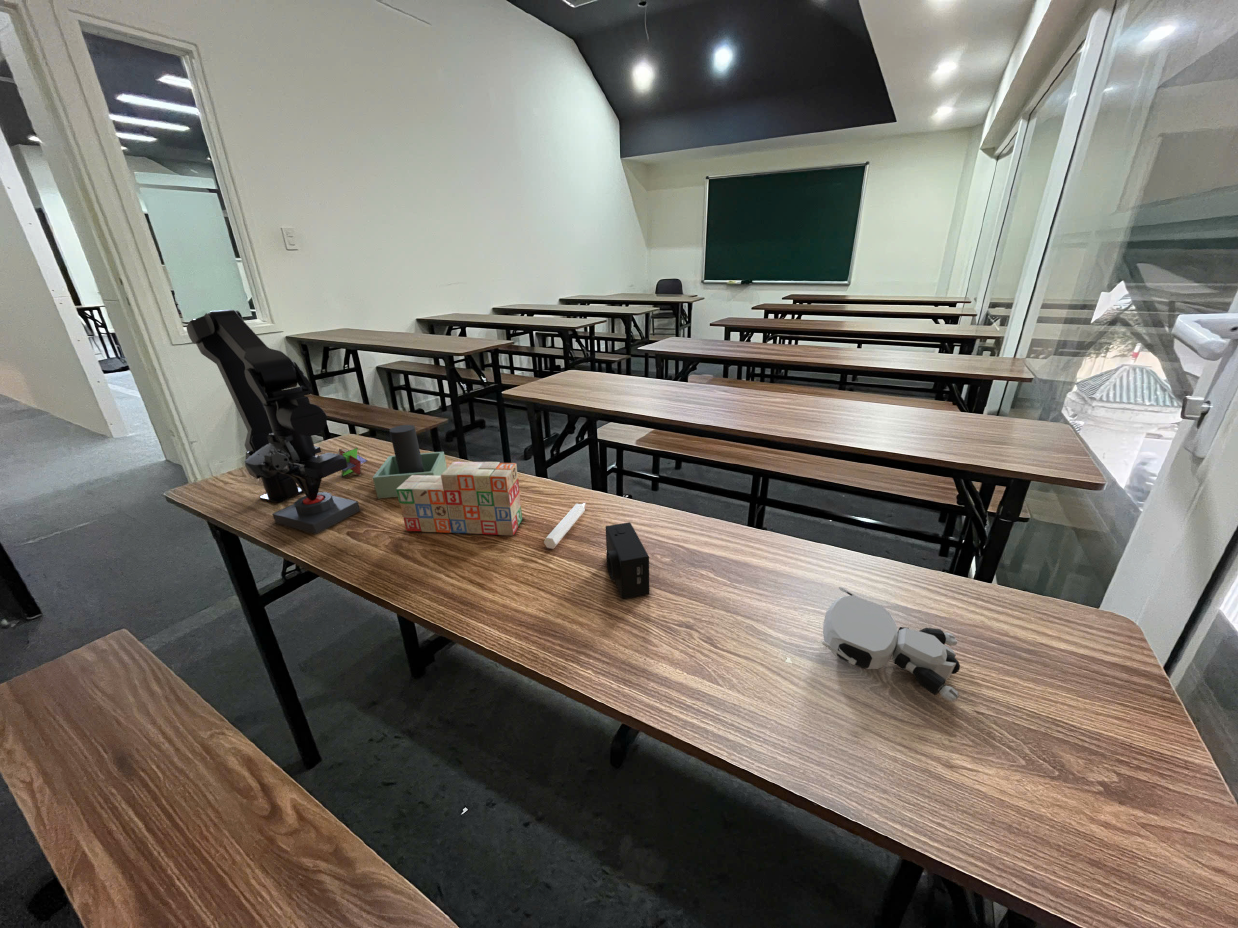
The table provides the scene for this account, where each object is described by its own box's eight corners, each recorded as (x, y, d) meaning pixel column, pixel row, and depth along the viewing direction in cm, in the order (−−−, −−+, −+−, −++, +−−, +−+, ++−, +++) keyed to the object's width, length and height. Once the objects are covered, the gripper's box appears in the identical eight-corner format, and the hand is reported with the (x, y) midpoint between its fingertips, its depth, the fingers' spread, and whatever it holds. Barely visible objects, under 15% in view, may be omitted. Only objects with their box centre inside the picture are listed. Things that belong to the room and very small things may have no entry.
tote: (377, 498, 105) (372, 477, 103) (393, 475, 116) (389, 455, 114) (437, 493, 106) (433, 472, 104) (447, 470, 118) (443, 451, 116)
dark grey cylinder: (399, 487, 108) (386, 433, 103) (404, 478, 113) (392, 426, 108) (423, 485, 109) (412, 431, 104) (427, 475, 114) (416, 423, 109)
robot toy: (951, 651, 62) (829, 605, 69) (963, 625, 60) (836, 580, 67) (952, 724, 52) (810, 663, 59) (966, 696, 50) (818, 636, 57)
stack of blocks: (405, 532, 91) (391, 473, 86) (420, 516, 97) (408, 460, 92) (514, 535, 89) (506, 475, 84) (523, 518, 95) (516, 461, 90)
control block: (275, 523, 96) (269, 505, 94) (321, 501, 104) (316, 484, 103) (316, 534, 91) (310, 516, 90) (360, 510, 100) (355, 493, 98)
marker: (586, 510, 99) (552, 551, 85) (577, 504, 99) (542, 544, 85) (591, 501, 98) (557, 541, 84) (583, 495, 98) (547, 534, 84)
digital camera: (599, 562, 81) (598, 526, 78) (630, 556, 82) (630, 521, 79) (614, 601, 71) (613, 562, 69) (649, 594, 73) (649, 555, 70)
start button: (301, 509, 96) (298, 501, 95) (317, 501, 99) (315, 493, 98) (313, 512, 95) (310, 504, 94) (329, 504, 98) (327, 496, 97)
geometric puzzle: (378, 463, 118) (357, 436, 117) (354, 474, 112) (332, 446, 111) (365, 476, 121) (345, 450, 121) (341, 487, 116) (320, 460, 115)
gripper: (212, 433, 87) (241, 509, 93) (279, 446, 80) (306, 527, 86) (273, 416, 96) (296, 485, 102) (338, 425, 89) (359, 500, 95)
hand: (313, 499), depth 96 cm, fingers closed, pressing on start button
